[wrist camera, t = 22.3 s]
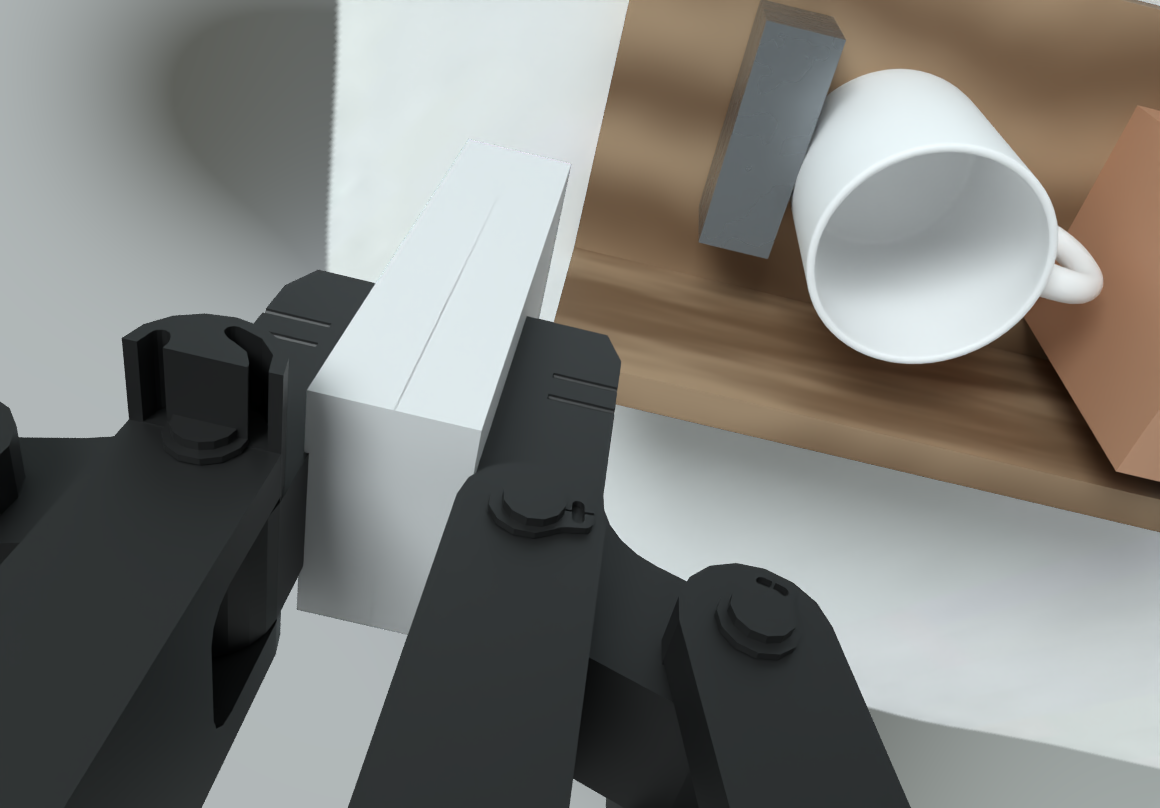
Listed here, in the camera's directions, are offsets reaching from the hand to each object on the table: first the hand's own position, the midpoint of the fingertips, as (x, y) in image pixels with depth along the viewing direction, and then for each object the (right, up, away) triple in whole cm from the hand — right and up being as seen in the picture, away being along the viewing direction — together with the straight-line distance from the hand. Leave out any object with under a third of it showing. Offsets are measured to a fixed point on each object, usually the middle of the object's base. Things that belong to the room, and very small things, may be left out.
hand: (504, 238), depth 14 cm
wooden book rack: (+16, +8, +28) cm, 33 cm away
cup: (+16, +8, +27) cm, 32 cm away
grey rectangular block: (+9, +10, +26) cm, 29 cm away
